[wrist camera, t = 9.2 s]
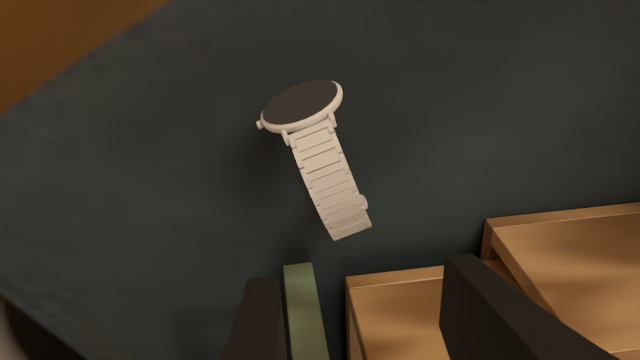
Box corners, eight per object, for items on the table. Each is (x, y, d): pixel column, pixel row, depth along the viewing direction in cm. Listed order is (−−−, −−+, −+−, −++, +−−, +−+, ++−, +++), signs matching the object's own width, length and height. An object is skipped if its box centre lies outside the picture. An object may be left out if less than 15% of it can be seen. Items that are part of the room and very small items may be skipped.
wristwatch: (327, 58, 19) (352, 108, 14) (369, 172, 21) (402, 245, 17) (252, 88, 19) (254, 147, 14) (302, 198, 21) (318, 277, 17)
